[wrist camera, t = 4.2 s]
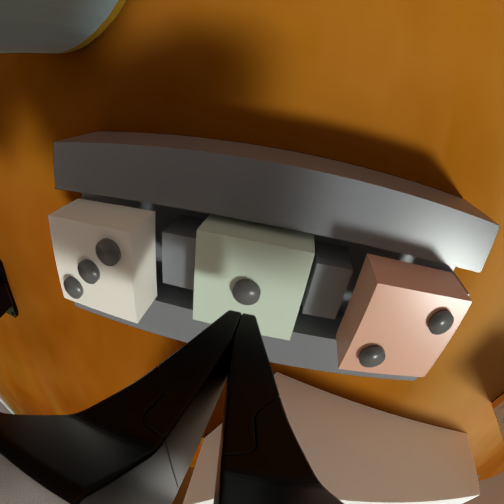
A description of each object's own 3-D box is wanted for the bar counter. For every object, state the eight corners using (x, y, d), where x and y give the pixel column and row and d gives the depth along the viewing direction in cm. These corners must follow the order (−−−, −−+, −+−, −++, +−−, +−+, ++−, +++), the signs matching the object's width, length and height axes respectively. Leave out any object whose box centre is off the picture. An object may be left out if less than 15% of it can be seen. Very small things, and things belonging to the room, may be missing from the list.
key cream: (87, 275, 13) (61, 300, 11) (77, 198, 11) (44, 216, 9) (157, 295, 13) (135, 326, 11) (155, 211, 11) (125, 234, 9)
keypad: (106, 274, 17) (75, 306, 14) (98, 131, 13) (53, 142, 10) (402, 337, 16) (415, 380, 13) (463, 199, 12) (499, 225, 9)
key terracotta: (335, 334, 12) (338, 372, 10) (366, 253, 10) (379, 286, 8) (413, 345, 12) (425, 380, 10) (452, 272, 10) (474, 304, 8)
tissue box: (277, 368, 19) (250, 522, 9) (467, 431, 21) (482, 512, 11) (204, 435, 26) (175, 525, 16) (379, 479, 28) (379, 547, 18)
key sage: (206, 292, 14) (191, 322, 12) (213, 210, 12) (194, 232, 10) (292, 310, 13) (289, 344, 11) (313, 229, 11) (315, 256, 9)
